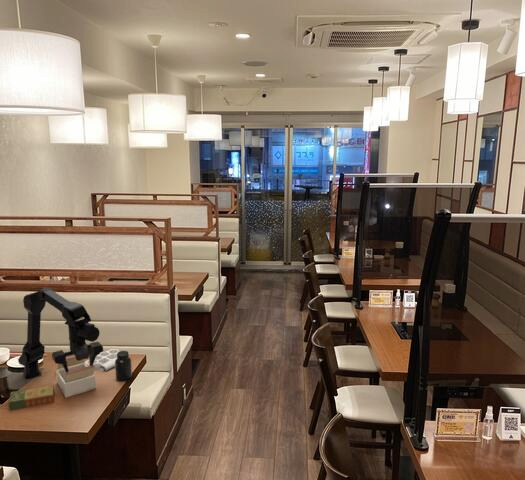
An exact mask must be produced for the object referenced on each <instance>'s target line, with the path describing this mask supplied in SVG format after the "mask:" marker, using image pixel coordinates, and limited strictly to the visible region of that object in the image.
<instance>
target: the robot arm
mask: <svg viewBox="0 0 525 480" xmlns="http://www.w3.org/2000/svg"><path fill="white" fill-rule="evenodd" d="M22 302H23V308H24V309H25V310H26V312H27V329H26V330H27V333H26V335H27V337H26V342H25V344H24V345H23V347H22V352H21V354H20V356H19V357H18V358H17V361H18V364H19V365H21V366H23V367H24V372H22V374H23V376H24V379H26V380H27V379H31V378H35V377H38V376H42V372H41V370H40V364H39V361H41V360H43V358H44V355H45V345H43V343H41V341H40V340H41V339H40V337H41V319H42V316H41V315H42V312H43V310H44V308H45V307H46V303H48V304H49V305H50V306H52V307H53V308H55V309H57V310H58V311H59V312H60V313H61V315H62V318H64V319H65V320H66V321H65V322H64V325H66V326H67V327H68V341H69V351H66V352H64V350H63V349H61V350H57V351H53V352H52V354H51V359H52V360H53V362H54V364H55V365H57V364H62V365H63V367H64V368H63V369H65V371H66V372H68V367H67V361H66V358H68V357H72V356H75V357H76V360H78V361H80V360H82V359H84V360H86V359H87V360H89V362H90V366H92V365H93V363H94V360H95V358H96V356H97V355H99V354H100V353H101V352H104V346H103V344H101V343H100V342H99V341H97V340H98V339H99V337H100V330H99V328H98V327H96V326H95V324H94V323H90V322H92V319H91V316H90V315H89V313H88V312H87V309H86V308H85V307H84V305H82V304H81V303H80V302H76V301H75V302H74V301H69V300H68V299H66V298H65V297H63V296H62V295H60V294H58V293H57V292H56V291H54V290H53V289H52V287H45V288H42V289H39V290H38V291H36V292H31V293H29V294H25V296H23V301H22ZM87 341H88V342H91V343H89V344H87Z"/></svg>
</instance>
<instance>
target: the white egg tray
mask: <svg viewBox="0 0 525 480" xmlns="http://www.w3.org/2000/svg"><path fill="white" fill-rule="evenodd" d="M118 352H120V350H119V349H117V348H110V349H108V350H106V351H103V352H101V353H100V354H99V355H97V356H96V358H95V360H94V363H93V365H94V371H95V370H101V372H102V371H103V372H106V371H108V370H110V369H113V368H115V360H116V359H117V353H118ZM84 363H85V364H86V365H87V367H89V366H90V362H89V359H87V360H85V361H84ZM104 370H105V371H104Z"/></svg>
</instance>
